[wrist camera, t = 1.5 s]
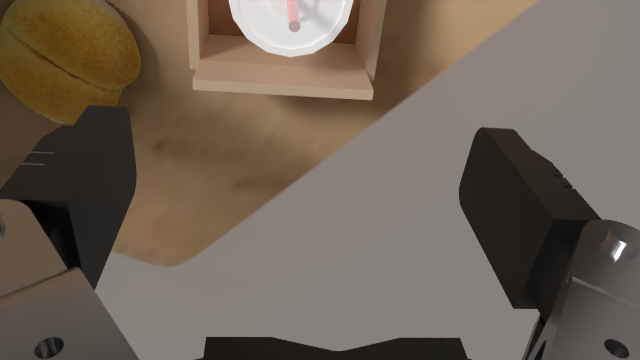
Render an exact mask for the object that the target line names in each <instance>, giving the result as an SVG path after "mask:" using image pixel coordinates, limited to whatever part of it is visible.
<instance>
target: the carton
mask: <svg viewBox="0 0 640 360" xmlns="http://www.w3.org/2000/svg"><path fill="white" fill-rule="evenodd" d="M386 4H387V0H361V4H360V11H359V19H358V26H357V33H356V41H355V44H345V43H329V44H328V45H326V46H324V47H323V48H321V49H319V50H318V51H316V52H314V53H313V54H306V55H300V56H294V57H287V56H282V55H278V54H273V53H269V52H266V51H265V50H263V49H262V48H260V47H259V46H257V45H256V44H254V43H253V42H251V41H250V40H248V39H247V38H246V36H233V35H219V34H209V14H208V0H186V7H187V26H188V46H189V66H190V69H196V71H195V74H194V77H193V79H192V80H193V90H204V91H221V92H238V93H256V94H273V95H290V96H307V97H324V98H342V99H359V100H372V98H373V92H374V90H373V87H372V85H371V82H370V80H373V81H374V77H375V71H376V65H377V58H378V52H379V46H380V40H381V34H382V28H383V22H384V16H385V10H386Z"/></svg>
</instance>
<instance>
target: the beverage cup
mask: <svg viewBox="0 0 640 360" xmlns="http://www.w3.org/2000/svg"><path fill="white" fill-rule="evenodd" d="M353 1H354V0H229V4H230V9H231V13H232V17H233V19H234V21H235V22H236V23H237V25H238V26H239V28H240V29H241V31H242V32H243V34H244V35H245V36H246V38H247V39H248V40H250V41H251V42H253V43H254V44H256V45H257V46H259V47H260V48H262V49H263V50H265V51H266V52H269V53H273V54H278V55H282V56H287V57H294V56H300V55H306V54H313V53H314V52H316V51H318V50H319V49H321V48H323V47H324V46H326V45H328V44H329V43H331V42H333V40H334V39H335V38H336V37H337V35H338V34H339V33H340V31H341V30H342V29H343V27H344V26H345V25H346V23H347V22H348V18H349V15H350V11H351V8H352V4H353Z"/></svg>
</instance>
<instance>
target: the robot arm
mask: <svg viewBox="0 0 640 360" xmlns="http://www.w3.org/2000/svg"><path fill="white" fill-rule="evenodd" d="M135 187H136V162H135V154H134V146H133V138H132V130H131V122H130V116H129V112H128V110H127V108H126V107H118V106H100V105H89V106H88V107H87V108H86V109H85V110H84V112H83V113H82V114H81V116H80V117H79V119H78V120H77V121H76V123H75V124H74V125H73V126H62V127H60V128H58V129H56V130H55V131H53V132H51V133H49V134H47V135H46V136H44V137H43V138H42V139H41V140H40V141H39V143H38V144H37V145H36V146H35V148H34V149H33V150H32V153H30V154H29V155H28V156H27V157H26V159H25V160H24V161H23V165H20V166H19V167H18V169H17V170H16V171H15V172H14V173H13V175H12V176H11V177H10V178H9V180H8V181H7V182H6V183H5V185H4V186H3V187H2V188H1V189H0V360H139V358H138V357H137V355H136V354H135V352H134V351H133V349H132V348H131V346H130V345H129V343H128V342H127V340H126V339H125V337H124V335H123V334H122V332H121V331H120V329H119V328H118V326H117V325H116V323H115V322H114V320H113V319H112V317H111V315H110V314H109V313H108V311H107V309H106V308H105V306H104V305H103V303H102V302H101V300H100V299H99V297H98V296H97V294H96V293H95V291H94V290H95V288H96V286H97V283H98V281H99V278H100V276H101V273H102V271H103V268H104V266H105V264H106V261H107V259H108V256H109V254H110V252H111V249H112V247H113V244H114V242H115V239H116V237H117V235H118V232H119V230H120V227H121V225H122V222H123V220H124V218H125V215H126V213H127V210H128V208H129V205H130V203H131V201H132V198H133V196H134V192H135ZM459 200H460V205H461V208H462V210H463V212H464V214H465V216H466V218H467V219H468V221H469V224H470V225H471V227H472V229H473V231H474V233H475V235H476V237H477V239H478V241H479V243H480V245H481V246H482V249H483V250H484V253H485V254H486V256H487V258H488V260H489V262H490V264H491V266H492V268H493V270H494V272H495V274H496V276H497V278H498V280H499V282H500V283H501V285H502V287H503V289H504V291H505V293H506V295H507V297H508V299H509V301H510V303H511V305H512V307H513V308H514V309H538V311H539V312H540V315H539V317H538V319H537V321H536V323H535V325H534V328H533V330H532V333H531V336H530V339H529V342H528V344H527V347H526V350H525V353H524V355H523V358H522V360H640V231H639V230H637V229H636V228H634V227H631V226H628V225H626V224H623V223H620V222H616V221H612V220H603V219H601V218H600V217H599V216H598V215H597V214H596V212H595V211H594V210H593V209H592V208H591V207H590V206H589V204H587V202H586V201H585V200H584V199H583V198H582V196H581V195H580V194H579V193H578V192H577V191H576V190H575V189H572V185H571V184H570V183H569V182H568V181H567V179H566V178H563V175H562V174H561V173H560V172H559V170H558V169H557V168H556V167H555V166H554V165H553V163H552V162H550V161H549V160H547V159H545V158H544V157H543V156H541V155H540V154H538V153H536V152H535V151H533V150H531V149H530V148H529V146H528V145H527V144H526V143H525V142H524V140H522V138H521V137H520V136H519V135H518V133H517V132H516V131H515V130H513V129H502V128H501V129H500V128H484V127H483V128H480V129H479V130H478V131H477V132H476V135H475V136H474V140H473V143H472V146H471V149H470V152H469V156H468V159H467V162H466V166H465V169H464V172H463V175H462V179H461V182H460V187H459ZM195 360H471V359H468V358H467V356H466V353H465V350H464V348H463V345H462V342H461V340H460V338H398V339H393V340H389V341H384V342H380V343H376V344H372V345H367V346H363V347H359V348H354V349H350V350H346V351H331V350H327V349H322V348H318V347H313V346H309V345H304V344H300V343H295V342H290V341H286V340H282V339H277V338H273V337H206V343H205V350H204V357H203V358H200V359H195Z"/></svg>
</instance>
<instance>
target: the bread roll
mask: <svg viewBox="0 0 640 360" xmlns="http://www.w3.org/2000/svg"><path fill="white" fill-rule="evenodd" d="M140 69H141V57H140V53H139V50H138V47H137V44H136V41H135V39H134V37H133V35H132V32H131V31H130V29H129V28H128V26H127V24H126V23H125V21H124V20H123V18H122V17H121V16H120V14H119V13H118V12H117V11H116V10H115V9H114V8H113V7H112V6H110V5H109V4H108V3H107V2H105V1H104V0H16V1H15V2H13V3H12V4H11V6H10V7H9V8H8V9H7V11H6V12H5V14H4V16H3V18H2V21H1V24H0V80H1V81H2V82H3V84H4V85H5V86H6V88H7V89H8V90H9V91H10V92H11V93H12V94H13V95H15V96H16V97H17V98H18V99H19V100H20V101H22V102H23V104H24V105H26V106H28V107H30V108H31V109H32V110H34V111H36V112H37V113H39V114H41V115H43V116H45V117H46V118H48V119H49V120H52V121H55V122H57V123H61V124H67V123H68V124H75V123H76V121H77V120H78V119H79V117H80V116H81V114H82V113H83V112H84V110H85V109H86V108H87V107H88V106H89V105H100V106H116V104H117V102H118V100H119V98H120V95H121V92H122V90H123V88H124V87H125V86H127V85H129V84H131V83H132V82H133V81H134V80H135V79H136V78H137V77H138V75H139V72H140Z"/></svg>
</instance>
